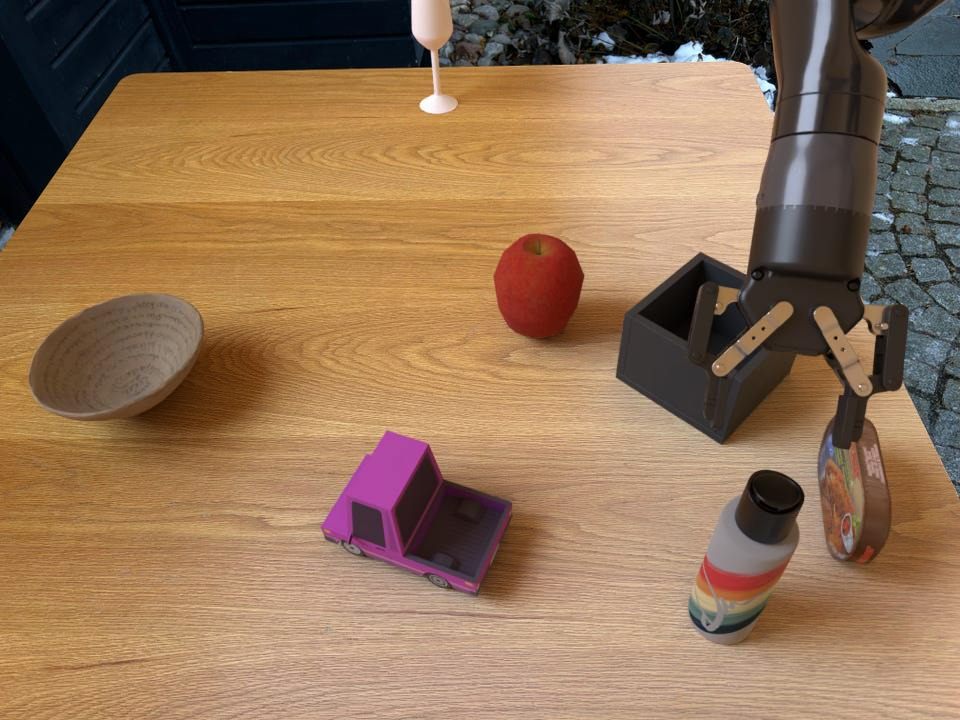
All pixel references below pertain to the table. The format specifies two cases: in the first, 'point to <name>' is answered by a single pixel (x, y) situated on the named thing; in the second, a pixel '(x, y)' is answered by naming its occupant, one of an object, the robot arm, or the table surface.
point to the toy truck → (418, 517)
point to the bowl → (117, 357)
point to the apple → (538, 285)
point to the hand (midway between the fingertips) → (777, 438)
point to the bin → (662, 344)
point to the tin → (854, 496)
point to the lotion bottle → (746, 557)
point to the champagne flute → (433, 46)
